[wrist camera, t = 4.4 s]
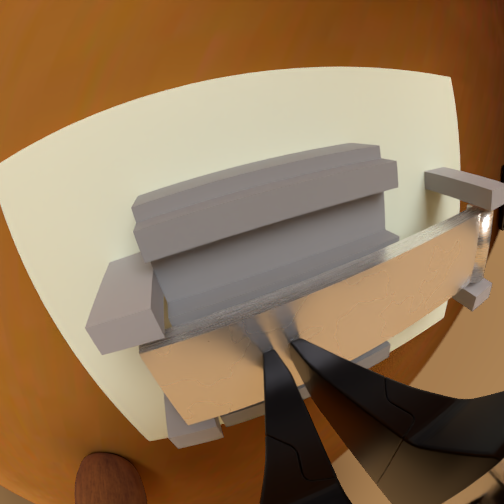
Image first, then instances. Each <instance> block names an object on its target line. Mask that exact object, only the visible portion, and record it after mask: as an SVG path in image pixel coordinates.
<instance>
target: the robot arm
mask: <svg viewBox="0 0 504 504" xmlns="http://www.w3.org/2000/svg"><path fill="white" fill-rule="evenodd" d="M503 183H504V166H503ZM499 229H500V230H504V204H503V205H502V206H501V213H500V222H499ZM289 346H290V351H291V357H292V361H293V363H294V366H295V368H296V369H297V371H298V373H299V375H300V377H301V379H302V381H303V383H304V385H305V387H306V388H307V390H308V392H309V394H310V396H311V398H312V399H313V401H314V402H315V404H316V405H317V406H318V408H319V409H320V411H321V412H322V413H323V415H324V416H325V417H326V419H327V420H328V422H329V423H330V424H331V426H332V427H333V428H334V430H335V431H336V432H337V434H338V435H339V436H340V438H341V439H342V440H343V442H344V443H345V444H346V446H347V447H348V448H349V450H350V451H351V452H352V454H353V455H354V456H355V458H356V459H357V460H358V461H359V463H360V464H361V465H362V467H363V468H364V469H365V471H366V472H367V473H368V474H369V476H370V477H371V478H372V480H373V481H374V482H375V483H376V484H377V486H378V487H379V488H380V490H381V491H382V492H383V493H384V495H385V496H386V497H387V498H388V500H389V501H390V502H391V503H392V504H504V391H503V392H499V393H495V394H491V395H487V396H483V397H479V398H474V399H457V398H452V397H447V396H443V395H439V394H435V393H431V392H428V391H424V390H420V389H417V388H414V387H411V386H408V385H405V384H402V383H400V382H397V381H395V380H392V379H390V378H387V377H384V376H383V375H380V374H378V373H376V372H373V371H371V370H369V369H367V368H364V367H362V366H360V365H358V364H355V363H353V362H351V361H349V360H347V359H344V358H342V357H340V356H338V355H336V354H334V353H331V352H329V351H327V350H325V349H323V348H321V347H319V346H317V345H315V344H313V343H310V342H308V341H306V340H304V339H302V338H299V339H296V340H294V341H291V342H290V344H289ZM263 379H264V408H265V435H266V437H265V443H266V456H265V470H264V479H263V486H262V492H261V498H260V504H352V503H351V501H350V500H349V499H348V497H347V496H346V494H345V492H344V490H343V489H342V487H341V485H340V482H339V480H338V479H337V476H336V474H335V471H334V469H333V467H332V465H331V462H330V460H329V458H328V456H327V453H326V451H325V449H324V447H323V444H322V442H321V440H320V438H319V435H318V433H317V431H316V428H315V426H314V424H313V422H312V419H311V417H310V415H309V412H308V410H307V408H306V406H305V403H304V401H303V399H302V396H301V394H300V392H299V390H298V387H297V385H296V383H295V380H294V378H293V376H292V374H291V372H290V371H289V369H288V368H287V366H286V365H285V363H284V362H283V360H282V359H281V358H280V356H279V355H278V353H277V352H276V350H274V349H272V350H269V351H267V352H264V353H263Z"/></svg>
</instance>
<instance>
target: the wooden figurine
mask: <svg viewBox="0 0 504 504" xmlns="http://www.w3.org/2000/svg"><path fill="white" fill-rule="evenodd" d="M75 504H147V499H146V494H145V490H144V486H143V484H142V481H141V478H140V476H139V474H138V472H137V470H136V468H135V467H134V466H133V464H131V463H130V462H129V461H128V460H126V459H124V458H123V457H120V456H118V455H115V454H109V453H94V454H90V455H88V456H86V457H85V458H84V459H83V461H82V463H81V465H80V467H79V470H78V472H77V477H76V482H75Z"/></svg>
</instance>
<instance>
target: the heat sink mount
mask: <svg viewBox="0 0 504 504" xmlns="http://www.w3.org/2000/svg"><path fill="white" fill-rule="evenodd" d="M460 200H462V201H464V202H467V203H470V204H473V205H476V206H478V207H481V208H484V209H486V210H489V211H492V210H494V209H496V208H498V207H500V206H502V205H503V204H504V183H502V182H498V181H495V180H492V179H488V178H485V177H481V176H478V175H474V174H470V173H467V172H463V171H460V151H459V136H458V124H457V115H456V107H455V100H454V94H453V88H452V82H451V77H446V76H440V75H435V74H428V73H421V72H414V71H406V70H396V69H384V68H367V67H311V68H294V69H281V70H271V71H262V72H254V73H247V74H240V75H234V76H228V77H223V78H217V79H212V80H207V81H202V82H198V83H193V84H189V85H185V86H181V87H177V88H173V89H169V90H166V91H162V92H158V93H155V94H152V95H148V96H145V97H142V98H139V99H136V100H133V101H130V102H127V103H124V104H121V105H118V106H115V107H113V108H110V109H107V110H105V111H102V112H100V113H97V114H95V115H92V116H90V117H87V118H85V119H83V120H80V121H78V122H76V123H74V124H71V125H69V126H67V127H65V128H63V129H61V130H59V131H56V132H54V133H52V134H50V135H48V136H46V137H45V138H43V139H41V140H39V141H37V142H35V143H33V144H31V145H30V146H28V147H26V148H24V149H23V150H21V151H19V152H17V153H16V154H14V155H12V156H11V157H9V158H8V159H6V160H4V161H3V162H1V163H0V204H1V207H2V210H3V213H4V216H5V219H6V222H7V224H8V227H9V230H10V232H11V235H12V238H13V240H14V243H15V245H16V247H17V250H18V252H19V255H20V257H21V259H22V261H23V264H24V266H25V268H26V270H27V272H28V274H29V276H30V278H31V280H32V282H33V284H34V286H35V288H36V290H37V292H38V294H39V296H40V298H41V300H42V301H43V303H44V305H45V307H46V309H47V310H48V312H49V314H50V316H51V317H52V319H53V321H54V322H55V324H56V326H57V327H58V329H59V330H60V332H61V334H62V335H63V337H64V338H65V340H66V341H67V343H68V344H69V346H70V347H71V349H72V350H73V352H74V353H75V355H76V356H77V358H78V359H79V360H80V362H81V363H82V364H83V366H84V367H85V369H86V370H87V371H88V373H89V374H90V375H91V377H92V378H93V379H94V380H95V382H96V383H97V384H98V385H99V387H100V388H101V389H102V390H103V392H104V393H105V394H106V395H107V396H108V398H109V399H110V400H111V401H112V402H113V404H114V405H115V406H116V407H117V408H118V409H119V410H120V411H121V413H122V414H123V415H124V416H125V417H126V418H127V419H128V420H129V421H130V422H131V423H132V424H133V426H134V427H135V428H136V429H137V430H138V431H139V432H140V433H141V434H142V435H143V436H144V437H145V438H146V439H147V440H148V441H153V440H159V439H164V438H169V440H170V441H171V442H172V443H173V444H174V445H175V446H176V447H177V448H178V449H179V448H184V447H188V446H193V445H197V444H201V443H205V442H209V441H213V440H217V439H220V438H224V436H223V432H222V429H221V424H225V426H226V427H229V426H232V425H235V424H238V423H242V422H245V421H248V420H251V419H254V418H257V417H259V416H262V415H265V408H264V401H261V402H258V403H256V404H253V405H250V406H247V407H245V408H242V409H239V410H236V411H233V412H230V413H227V414H224V415H221V416H218V417H215V418H212V419H208V420H205V421H201V422H198V423H195V424H191V425H187V423H186V422H185V421H184V419H183V418H182V417H181V415H180V414H179V413H178V411H177V410H176V409H175V407H174V406H173V405H172V403H171V402H170V400H169V399H168V398H167V396H166V395H165V393H164V392H163V390H162V389H161V387H160V386H159V385H158V383H157V382H156V380H155V379H154V377H153V376H152V374H151V372H150V371H149V369H148V368H147V366H146V365H145V363H144V361H143V360H142V358H141V357H140V355H139V345H142V344H145V343H149V342H152V341H156V340H159V339H163V338H165V329H168V328H171V327H174V326H177V325H180V324H183V323H186V322H189V321H192V320H195V319H198V318H201V317H204V316H207V315H210V314H213V313H216V312H219V311H221V310H224V309H227V308H230V307H233V306H236V305H239V304H241V303H244V302H247V301H250V300H252V299H255V298H258V297H261V296H263V295H266V294H269V293H272V292H274V291H277V290H280V289H282V288H285V287H287V286H290V285H293V284H295V283H298V282H301V281H303V280H306V279H308V278H311V277H313V276H316V275H318V274H321V273H323V272H326V271H329V270H331V269H333V268H336V267H338V266H341V265H343V264H346V263H348V262H351V261H353V260H355V259H358V258H360V257H363V256H365V255H367V254H370V253H372V252H375V251H377V250H379V249H382V248H384V247H386V246H389V245H391V244H393V243H395V242H398V241H400V240H402V239H404V238H407V237H409V236H411V235H413V234H416V233H418V232H420V231H422V230H424V229H427V228H429V227H431V226H433V225H435V224H438V223H440V222H442V221H444V220H446V219H448V218H450V217H452V216H454V215H457V214H459V209H460ZM491 287H492V283H491V282H490V281H488V280H486V279H485V278H483V279H482V281H480V282H477V283H469V284H468V285H467V286H466V287H464V288H463V289H462V290H460V291H459V292H458V293H457V294H455V295H454V296H453V297H452V298H453V299H455V300H456V301H458V302H459V303H461V304H462V305H464V306H465V307H467V308H468V309H470V310H471V311H474V309H476V308H477V307H478V306H479V305H481V304H482V303H483V302H484V301H485V300H486V299H487V298H488V297H489V295H490V291H491ZM447 301H448V300H447ZM447 301H446V302H444V303H443V304H442V305H440V306H439V307H438V308H436V309H435V310H433V311H432V312H430V313H429V314H428V315H426V316H425V317H423V318H422V319H420V320H419V321H417V322H416V323H414V324H413V325H411V326H409V327H408V328H406V329H405V330H403V331H402V332H400V333H398V334H397V335H395V336H394V337H392V338H390V339H389V340H387V341H385V342H384V343H382V344H380V345H378V346H377V347H375V348H373V349H371V350H370V351H368V352H366V353H364V354H362V355H361V356H359V357H357V358H355V359H353V360H351V362H353V363H355V364H358V365H360V366H362V367H364V368H367V369H368V368H370V367H372V366H374V365H375V364H377V363H379V362H381V361H383V360H384V359H386V358H388V357H389V352H391V351H393V350H394V349H396V348H398V347H399V346H401V345H403V344H404V343H406V342H407V341H409V340H411V339H412V338H414V337H415V336H417V335H418V334H420V333H422V332H423V331H425V330H426V329H428V328H429V327H431V326H432V325H434V324H435V323H436V322H438V321H439V320H441V319H442V318H444V315H445V310H446V306H447ZM298 390H299V392H300V394H301V396H302V399H303V400H304V399H306V398H308V397H311V396H310V394H309V392H308V390H307V388H306V387H305V385H304V384H302V385H300V386H298Z"/></svg>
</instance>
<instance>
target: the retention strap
mask: <svg viewBox="0 0 504 504" xmlns="http://www.w3.org/2000/svg"><path fill="white" fill-rule="evenodd" d="M492 221H493V210H492V211H489V210H486V209H484V208H481V207H478V206H476V205H473V204H468V205H467V210H465V211H463V212H461V213H459V214H457V215H454V216H452V217H450V218H448V219H446V220H444V221H442V222H440V223H438V224H435V225H433V226H431V227H429V228H427V229H424V230H422V231H420V232H418V233H416V234H413V235H411V236H409V237H407V238H404V239H402V240H400V241H398V242H395V243H393V244H391V245H389V246H386V247H384V248H382V249H379V250H377V251H375V252H372V253H370V254H367V255H365V256H363V257H360V258H358V259H355V260H353V261H351V262H348V263H346V264H343V265H341V266H338V267H336V268H333V269H331V270H329V271H326V272H323V273H321V274H318V275H316V276H313V277H311V278H308V279H306V280H303V281H301V282H298V283H295V284H293V285H290V286H287V287H285V288H282V289H280V290H277V291H274V292H272V293H269V294H266V295H263V296H261V297H258V298H255V299H252V300H250V301H247V302H244V303H241V304H239V305H236V306H233V307H230V308H227V309H224V310H221V311H219V312H216V313H213V314H210V315H207V316H204V317H201V318H198V319H195V320H192V321H189V322H186V323H183V324H180V325H177V326H174V327H171V328H168V329H165V338H163V339H159V340H156V341H152V342H149V343H145V344H142V345H139V355H140V357H141V358H142V360H143V361H144V363H145V365H146V366H147V368H148V369H149V371H150V372H151V374H152V376H153V377H154V379H155V380H156V382H157V383H158V385H159V386H160V387H161V389H162V390H163V392H164V393H165V395H166V396H167V398H168V399H169V400H170V402H171V403H172V405H173V406H174V407H175V409H176V410H177V411H178V413H179V414H180V415H181V417H182V418H183V419H184V421H185V422H186V423H187V425H191V424H195V423H198V422H201V421H205V420H208V419H212V418H215V417H218V416H221V415H224V414H227V413H230V412H233V411H236V410H239V409H242V408H245V407H247V406H250V405H253V404H256V403H258V402H261V401H264V379H263V353H264V352H267V351H269V350H272V349H274V350H276V352H277V353H278V355H279V356H280V358H281V359H282V360H283V362H284V363H285V365H286V366H287V368H288V369H289V371H290V372H291V374H292V376H293V378H294V380H295V383H296V385H297V387H298V386H300V385H302V384H304V383H303V381H302V379H301V377H300V375H299V373H298V371H297V369H296V368H295V366H294V363H293V361H292V357H291V351H290V346H289V344H290V342H291V341H294V340H296V339H299V338H302V339H304V340H306V341H308V342H310V343H313V344H315V345H317V346H319V347H321V348H323V349H325V350H327V351H329V352H331V353H334V354H336V355H338V356H340V357H342V358H344V359H347V360H349V361H351V360H353V359H355V358H357V357H359V356H361V355H362V354H364V353H366V352H368V351H370V350H371V349H373V348H375V347H377V346H378V345H380V344H382V343H384V342H385V341H387V340H389V339H390V338H392V337H394V336H395V335H397V334H398V333H400V332H402V331H403V330H405V329H406V328H408V327H409V326H411V325H413V324H414V323H416V322H417V321H419V320H420V319H422V318H423V317H425V316H426V315H428V314H429V313H430V312H432V311H433V310H435V309H436V308H438V307H439V306H440V305H442V304H443V303H444V302H446V301H447V300H449V299H450V298H451V297H453V296H454V295H455V294H457V293H458V292H459V291H460V290H462V289H463V288H464V287H466V286H467V285H468V284H469V283H477V282H480V281H482V279H483V276H484V271H485V267H486V261H487V256H488V250H489V244H490V237H491V229H492Z"/></svg>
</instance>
